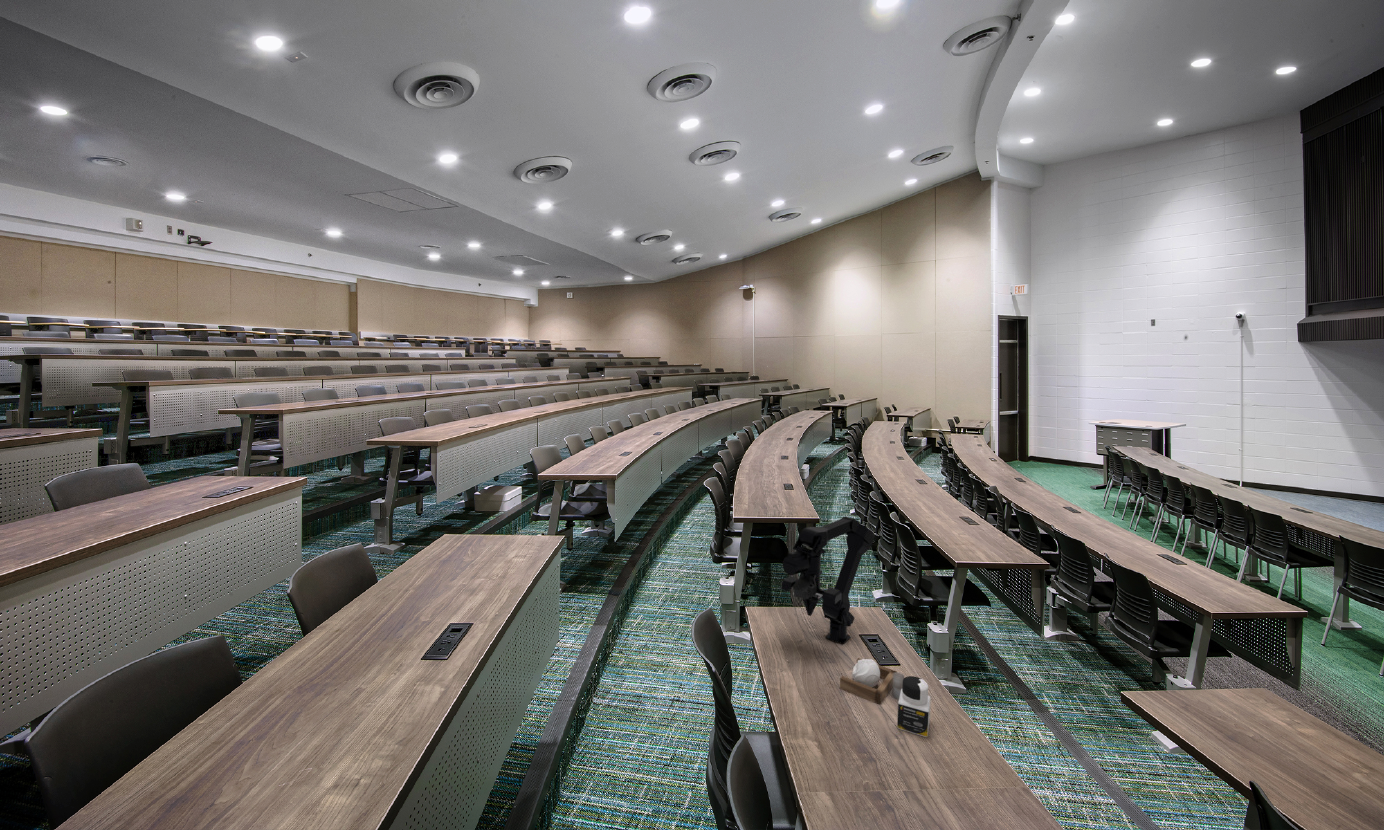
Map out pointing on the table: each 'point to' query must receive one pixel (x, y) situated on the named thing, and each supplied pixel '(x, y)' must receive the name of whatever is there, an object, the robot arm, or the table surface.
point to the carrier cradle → (872, 694)
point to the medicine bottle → (914, 706)
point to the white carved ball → (866, 672)
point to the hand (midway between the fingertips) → (809, 615)
